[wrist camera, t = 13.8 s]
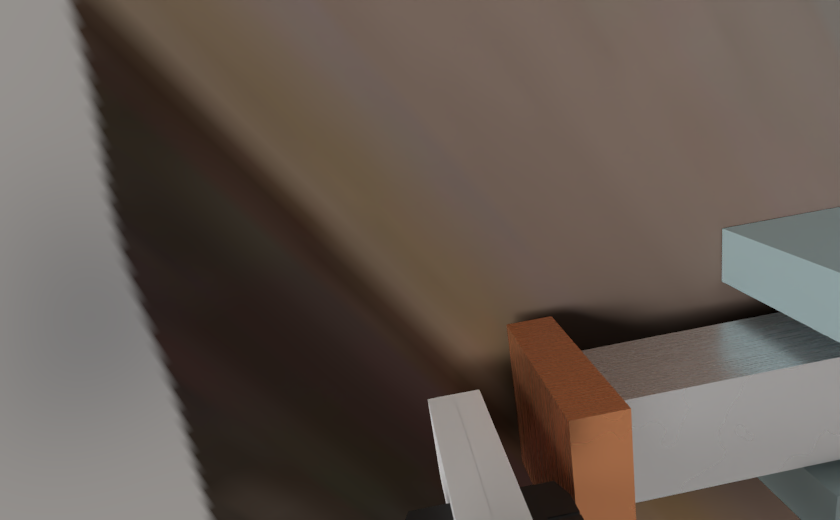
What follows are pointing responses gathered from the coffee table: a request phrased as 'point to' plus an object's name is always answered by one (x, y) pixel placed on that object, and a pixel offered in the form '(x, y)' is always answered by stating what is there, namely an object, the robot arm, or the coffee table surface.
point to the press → (803, 301)
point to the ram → (673, 408)
